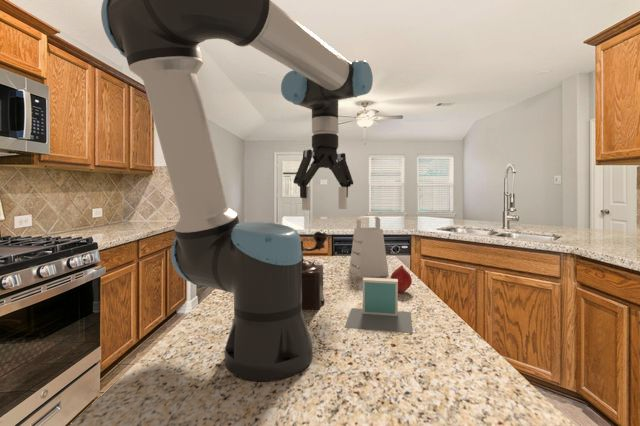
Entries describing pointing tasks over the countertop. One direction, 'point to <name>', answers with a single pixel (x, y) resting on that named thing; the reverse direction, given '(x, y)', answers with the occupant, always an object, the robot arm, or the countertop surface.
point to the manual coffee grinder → (313, 277)
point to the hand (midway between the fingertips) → (325, 209)
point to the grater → (368, 251)
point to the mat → (380, 321)
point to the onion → (402, 279)
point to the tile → (380, 296)
